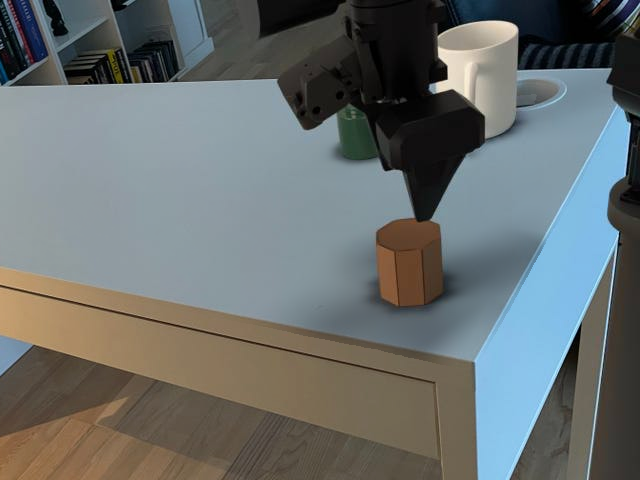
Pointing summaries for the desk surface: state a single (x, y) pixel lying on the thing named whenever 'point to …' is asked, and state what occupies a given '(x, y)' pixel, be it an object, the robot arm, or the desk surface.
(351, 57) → the robot arm
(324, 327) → the desk surface
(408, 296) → the octagonal wooden prism
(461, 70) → the cup
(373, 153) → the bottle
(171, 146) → the desk surface
